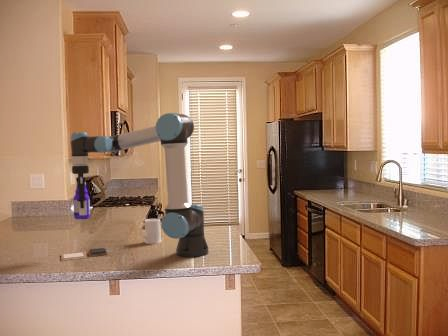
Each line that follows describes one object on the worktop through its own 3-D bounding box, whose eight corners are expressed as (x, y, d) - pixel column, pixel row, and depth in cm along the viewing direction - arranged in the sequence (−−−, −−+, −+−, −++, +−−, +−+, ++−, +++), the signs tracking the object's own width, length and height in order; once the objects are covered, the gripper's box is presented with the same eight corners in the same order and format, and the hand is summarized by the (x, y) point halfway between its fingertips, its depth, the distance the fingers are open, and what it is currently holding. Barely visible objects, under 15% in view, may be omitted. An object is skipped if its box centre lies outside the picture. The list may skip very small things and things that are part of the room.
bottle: (91, 217, 218) (90, 181, 217) (88, 219, 212) (86, 182, 211) (76, 218, 218) (75, 181, 217) (72, 220, 212) (71, 182, 211)
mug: (142, 245, 232) (141, 222, 232) (137, 242, 240) (136, 220, 239) (163, 242, 238) (163, 220, 237) (158, 239, 246) (157, 217, 245)
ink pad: (107, 254, 215) (107, 251, 215) (90, 256, 212) (89, 253, 212) (105, 250, 223) (105, 247, 223) (88, 252, 221) (88, 249, 221)
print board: (86, 257, 211) (86, 256, 211) (61, 260, 207) (61, 258, 207) (85, 252, 221) (85, 251, 221) (61, 255, 217) (61, 253, 217)
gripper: (89, 165, 206) (91, 216, 207) (87, 164, 224) (89, 210, 225) (72, 166, 203) (74, 217, 205) (71, 164, 221) (73, 211, 223)
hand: (82, 213), depth 215 cm, fingers closed on bottle, 6 cm apart
